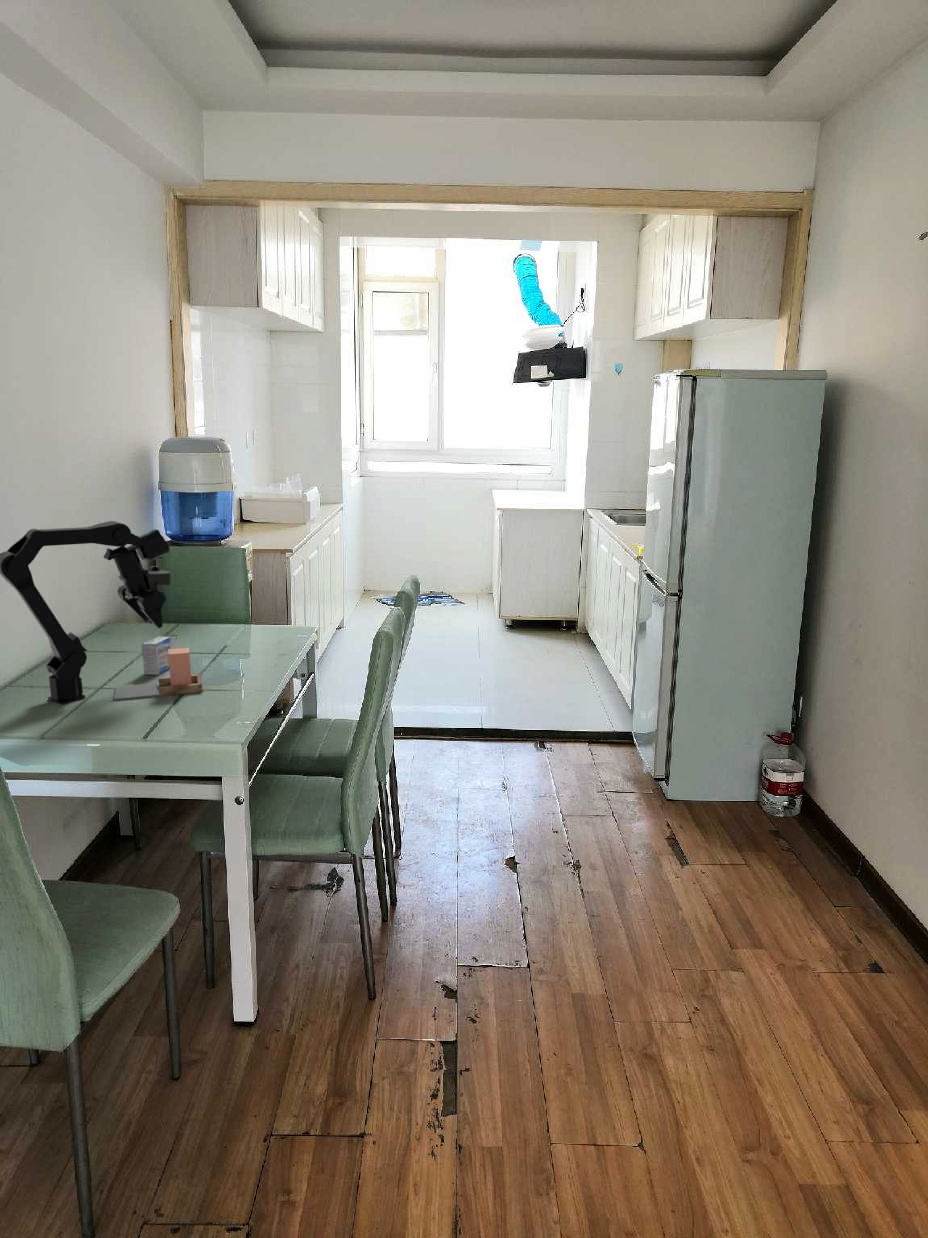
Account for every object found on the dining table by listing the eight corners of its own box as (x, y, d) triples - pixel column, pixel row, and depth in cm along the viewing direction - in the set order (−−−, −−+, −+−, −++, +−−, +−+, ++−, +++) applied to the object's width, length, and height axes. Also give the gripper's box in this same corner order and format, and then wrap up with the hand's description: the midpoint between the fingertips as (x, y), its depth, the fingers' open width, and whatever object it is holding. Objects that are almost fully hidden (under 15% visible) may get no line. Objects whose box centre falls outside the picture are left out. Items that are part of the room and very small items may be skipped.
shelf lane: (159, 695, 232) (158, 688, 231) (159, 685, 240) (158, 677, 240) (202, 691, 235) (202, 684, 234) (201, 681, 243) (200, 674, 243)
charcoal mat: (113, 700, 228) (113, 698, 228) (116, 688, 238) (115, 686, 237) (156, 696, 231) (156, 694, 231) (157, 684, 240) (157, 683, 240)
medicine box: (158, 675, 248) (156, 644, 246) (143, 674, 249) (140, 643, 247) (173, 667, 256) (171, 636, 254) (158, 666, 257) (156, 636, 255)
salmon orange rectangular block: (171, 692, 234) (168, 654, 232) (171, 686, 239) (168, 649, 237) (192, 690, 236) (189, 652, 234) (191, 684, 241) (188, 647, 238)
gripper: (174, 561, 231) (196, 617, 237) (146, 551, 245) (168, 604, 251) (132, 579, 225) (156, 636, 231) (106, 568, 239) (129, 622, 246)
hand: (153, 624), depth 240 cm, fingers open, 9 cm apart
